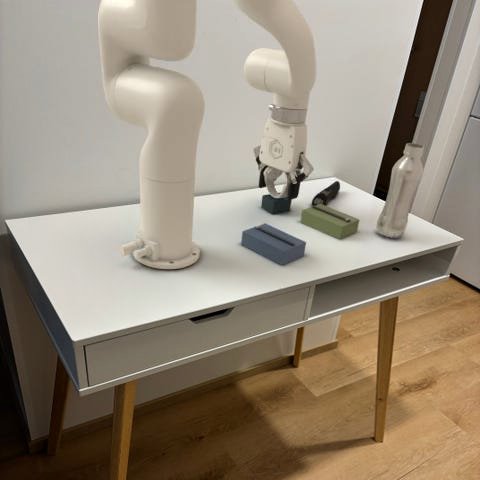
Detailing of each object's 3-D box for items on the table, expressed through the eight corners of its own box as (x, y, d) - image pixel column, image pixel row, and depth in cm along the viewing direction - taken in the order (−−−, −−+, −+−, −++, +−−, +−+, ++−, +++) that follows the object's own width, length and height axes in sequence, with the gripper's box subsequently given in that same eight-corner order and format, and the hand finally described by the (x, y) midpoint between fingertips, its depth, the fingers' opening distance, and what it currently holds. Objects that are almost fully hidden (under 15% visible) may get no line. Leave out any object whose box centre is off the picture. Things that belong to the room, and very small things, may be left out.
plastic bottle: (368, 230, 112) (392, 141, 101) (390, 227, 115) (415, 140, 104) (387, 242, 108) (414, 150, 96) (409, 239, 111) (438, 149, 99)
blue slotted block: (282, 265, 94) (284, 248, 92) (240, 244, 100) (242, 228, 98) (303, 255, 98) (307, 239, 96) (263, 236, 104) (265, 220, 102)
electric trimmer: (342, 193, 132) (345, 182, 131) (323, 209, 120) (326, 197, 119) (329, 190, 134) (331, 178, 132) (309, 205, 122) (312, 193, 120)
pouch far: (339, 239, 107) (343, 224, 105) (300, 222, 113) (302, 207, 110) (356, 231, 111) (360, 216, 109) (317, 215, 117) (320, 201, 115)
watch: (274, 201, 122) (280, 157, 116) (294, 213, 116) (302, 167, 110) (255, 204, 119) (261, 159, 113) (276, 217, 114) (282, 170, 107)
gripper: (247, 107, 108) (240, 184, 118) (310, 126, 99) (296, 208, 108) (269, 104, 112) (260, 179, 122) (331, 122, 103) (316, 201, 113)
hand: (277, 192), depth 115 cm, fingers closed on watch, 8 cm apart
